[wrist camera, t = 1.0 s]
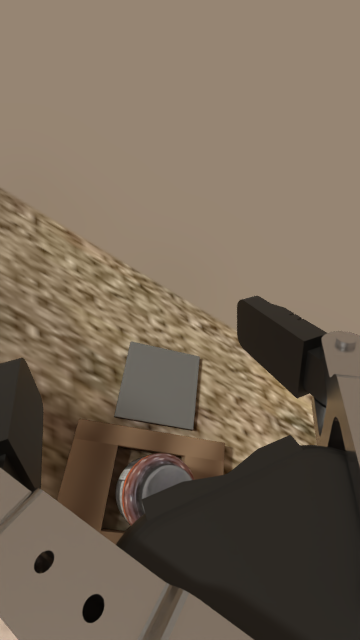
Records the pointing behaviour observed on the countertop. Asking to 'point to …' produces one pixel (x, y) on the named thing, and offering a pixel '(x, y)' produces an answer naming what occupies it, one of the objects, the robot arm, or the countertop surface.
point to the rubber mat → (158, 387)
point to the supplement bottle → (148, 481)
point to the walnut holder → (99, 456)
